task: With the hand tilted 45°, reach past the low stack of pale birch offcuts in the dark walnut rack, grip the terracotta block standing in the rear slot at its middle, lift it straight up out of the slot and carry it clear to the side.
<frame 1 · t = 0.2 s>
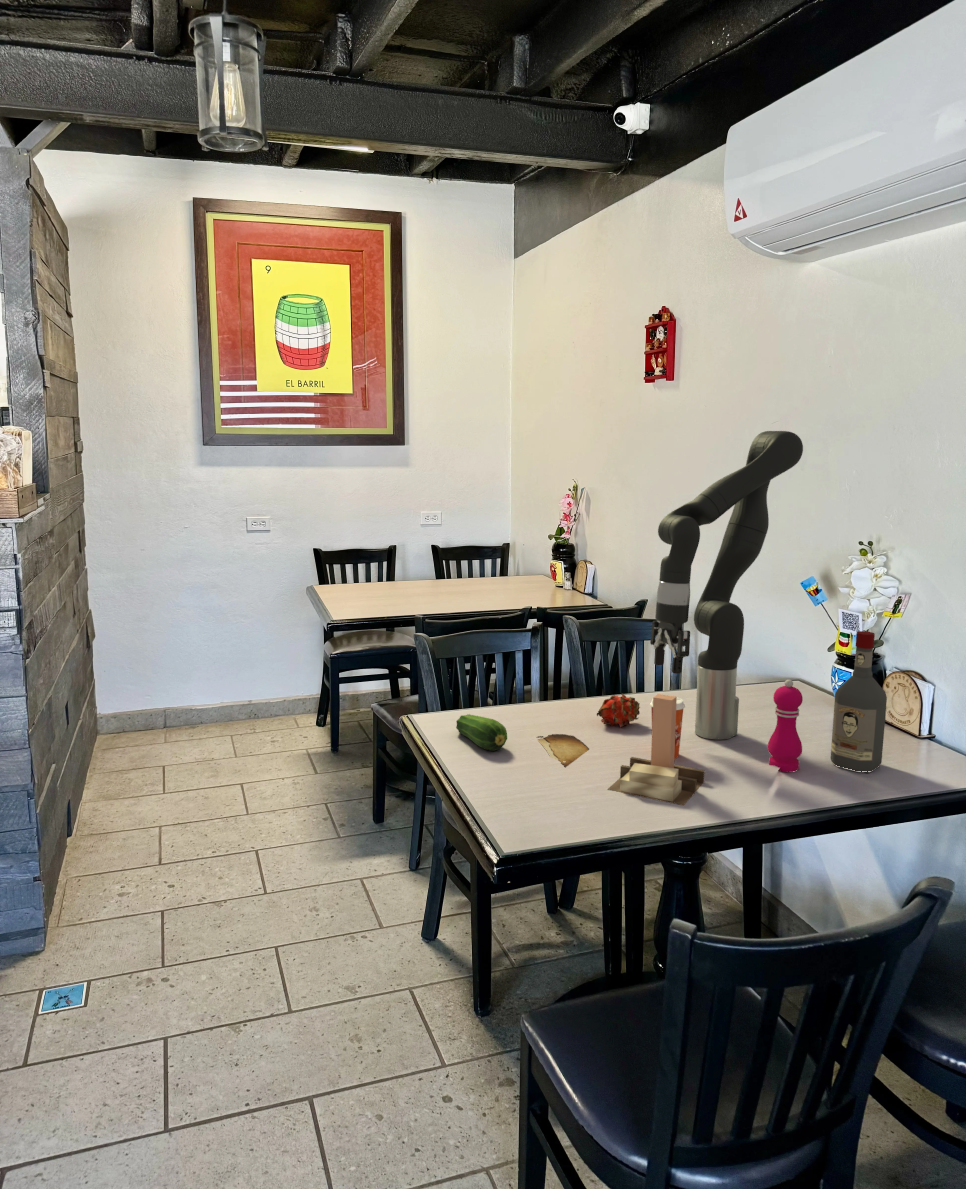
hand: (667, 668, 209), 18 cm above the table, tool pointing down, fingers open, 8 cm apart
walnut rack: (656, 789, 183), on the table
vegetable: (478, 742, 212), on the table
pepper mill: (783, 768, 196), on the table
terracotta block: (661, 779, 186), point 1 cm above the table, touching walnut rack
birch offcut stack: (650, 791, 180), point 1 cm above the table, touching walnut rack
dragon fruit: (617, 725, 224), on the table
parchment: (568, 754, 205), on the table
paper cup: (665, 759, 201), on the table
liquor: (855, 765, 197), on the table
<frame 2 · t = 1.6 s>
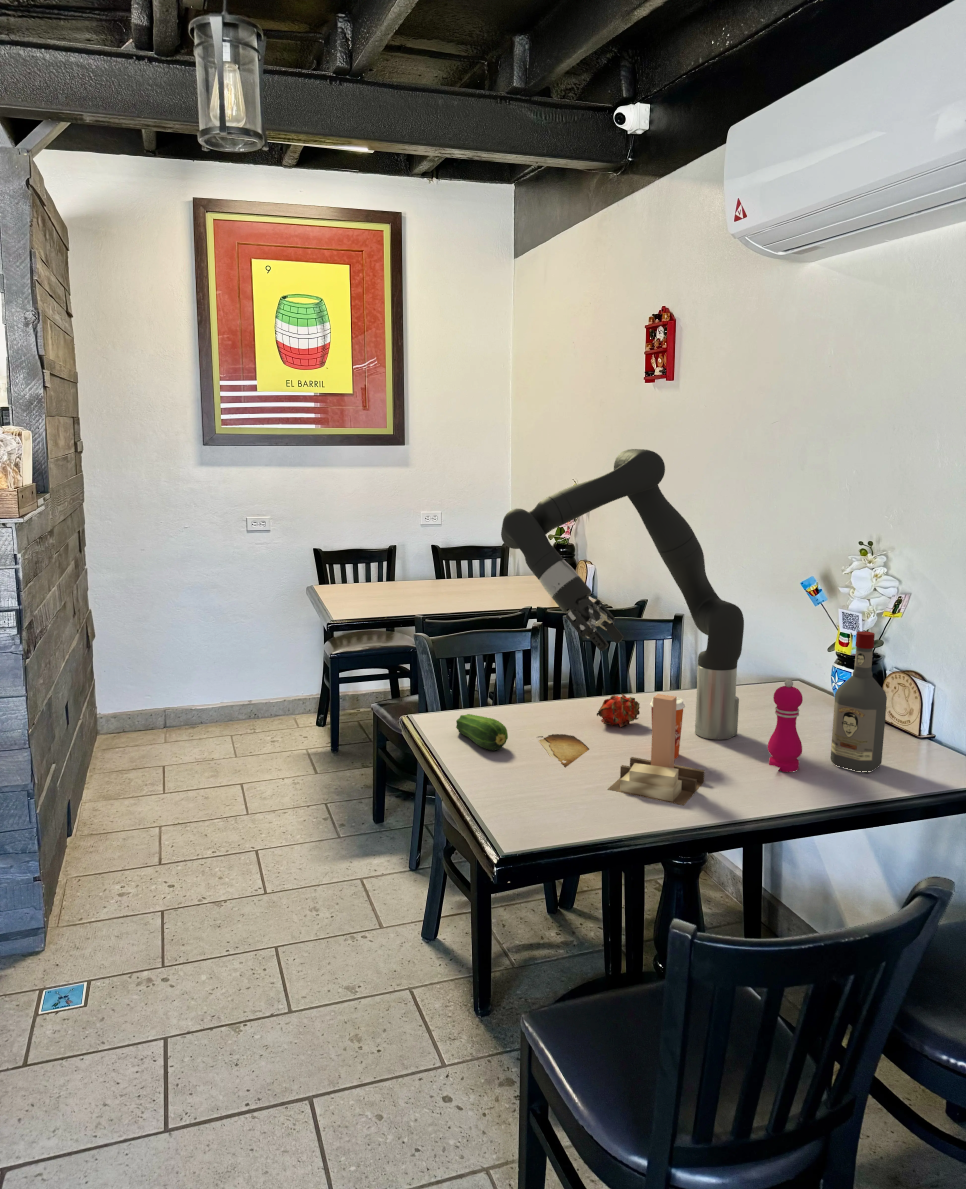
hand: (613, 644, 187), 29 cm above the table, tool tilted 45°, fingers open, 8 cm apart
nothing on the table moved.
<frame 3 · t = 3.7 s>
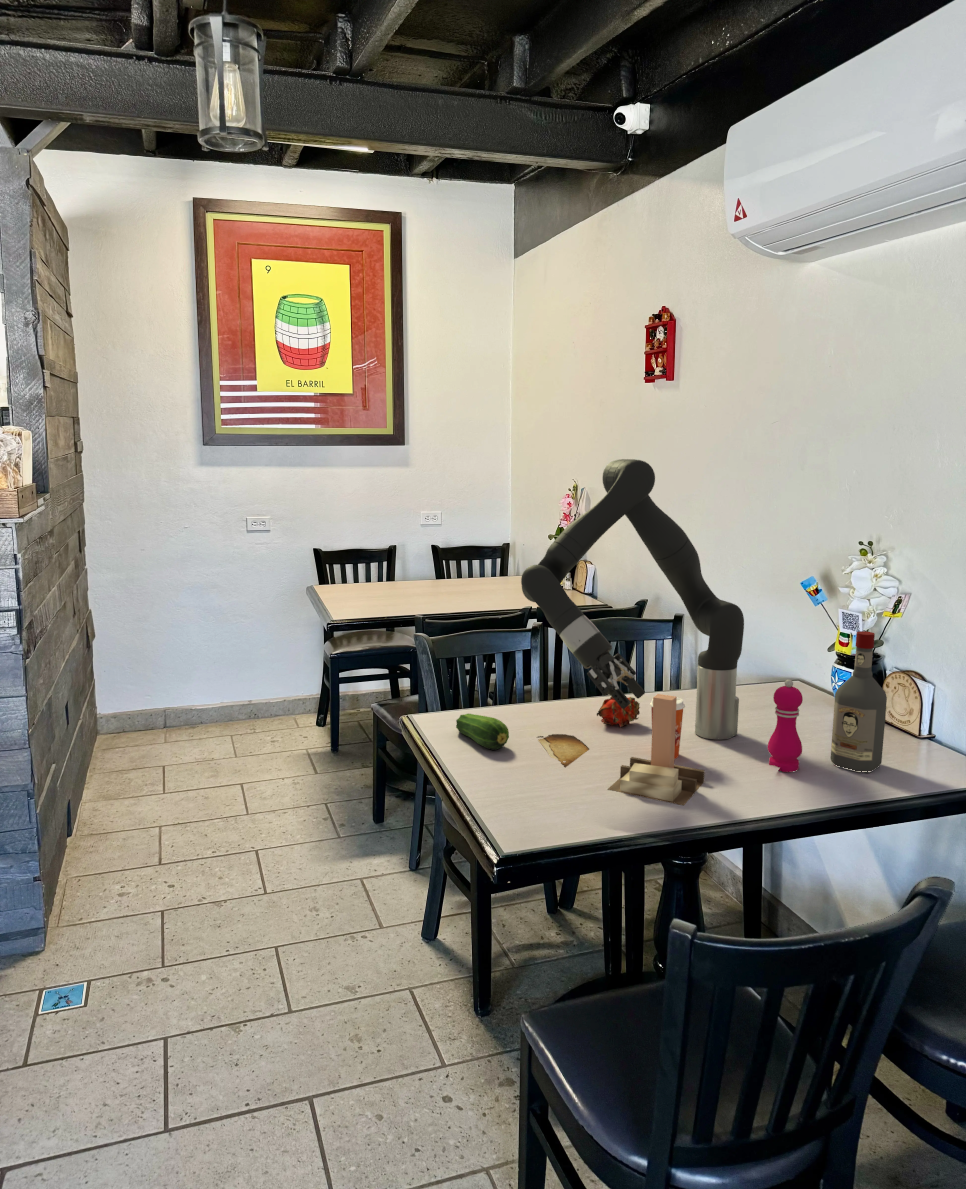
hand: (634, 701, 186), 17 cm above the table, tool tilted 45°, fingers open, 8 cm apart
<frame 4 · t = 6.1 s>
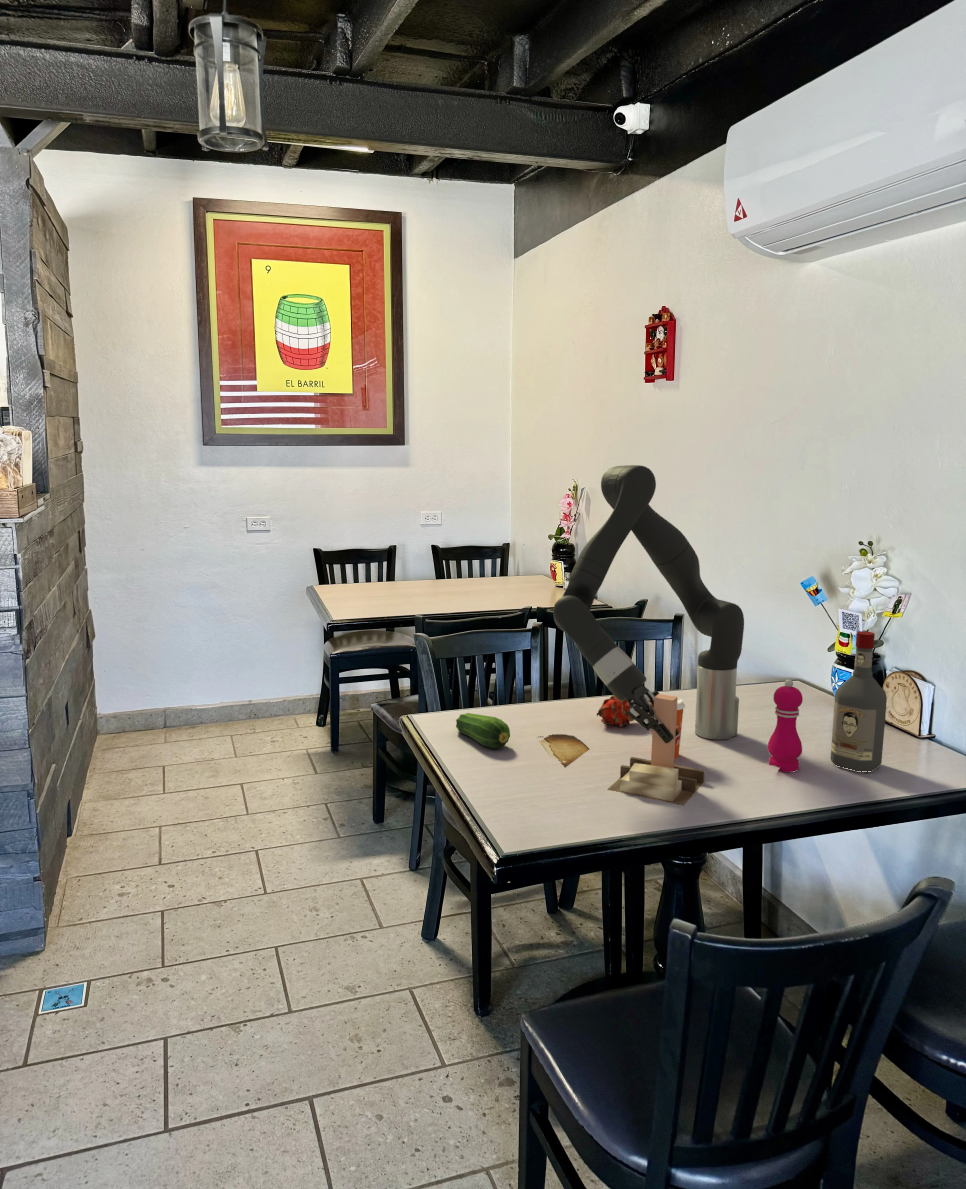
hand: (673, 738, 183), 11 cm above the table, tool tilted 45°, fingers closed on terracotta block, 3 cm apart
terracotta block: (661, 779, 186), point 1 cm above the table, touching gripper, walnut rack
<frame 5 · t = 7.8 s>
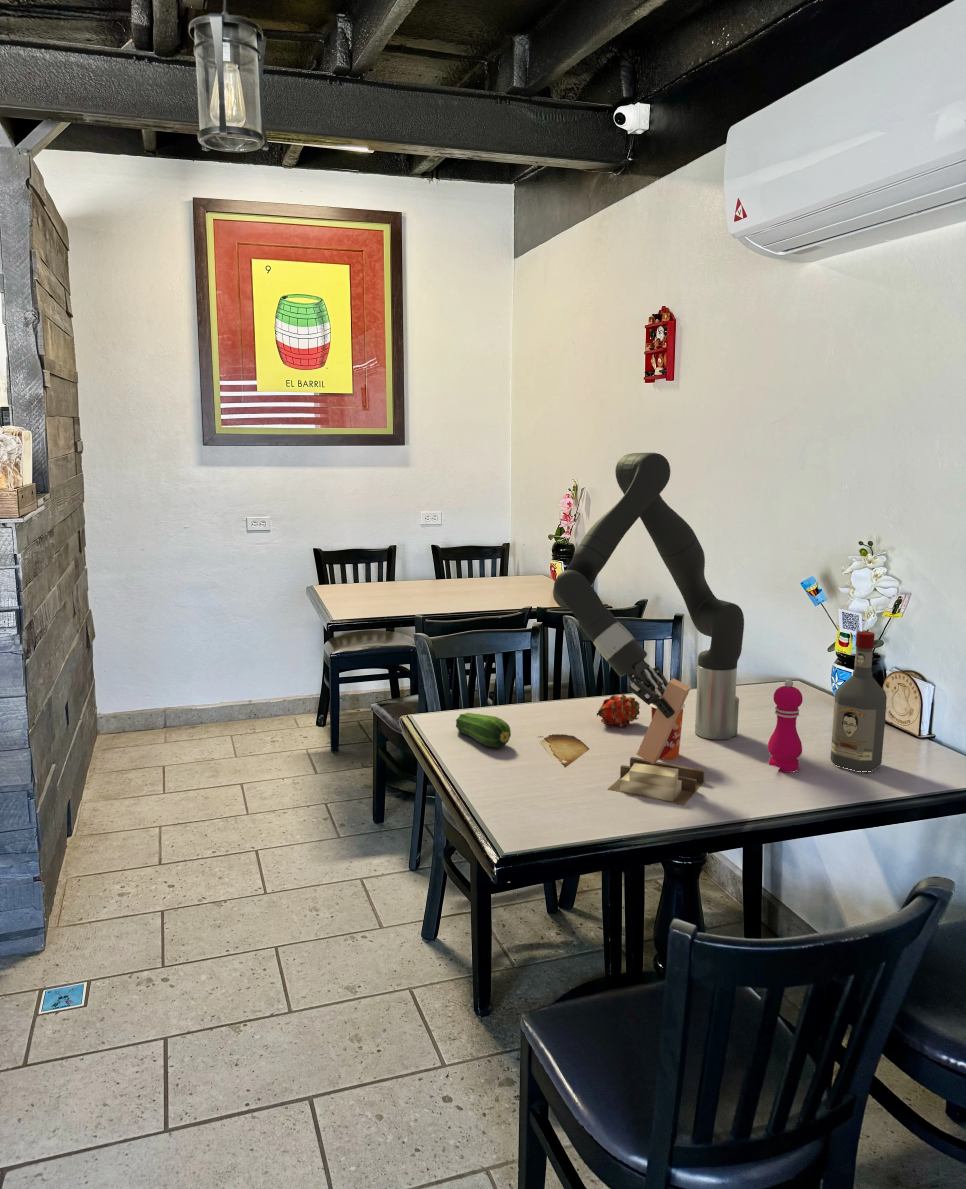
hand: (674, 713, 182), 16 cm above the table, tool tilted 45°, fingers closed on terracotta block, 2 cm apart
terracotta block: (647, 757, 187), point 5 cm above the table, tilted 21°, touching gripper
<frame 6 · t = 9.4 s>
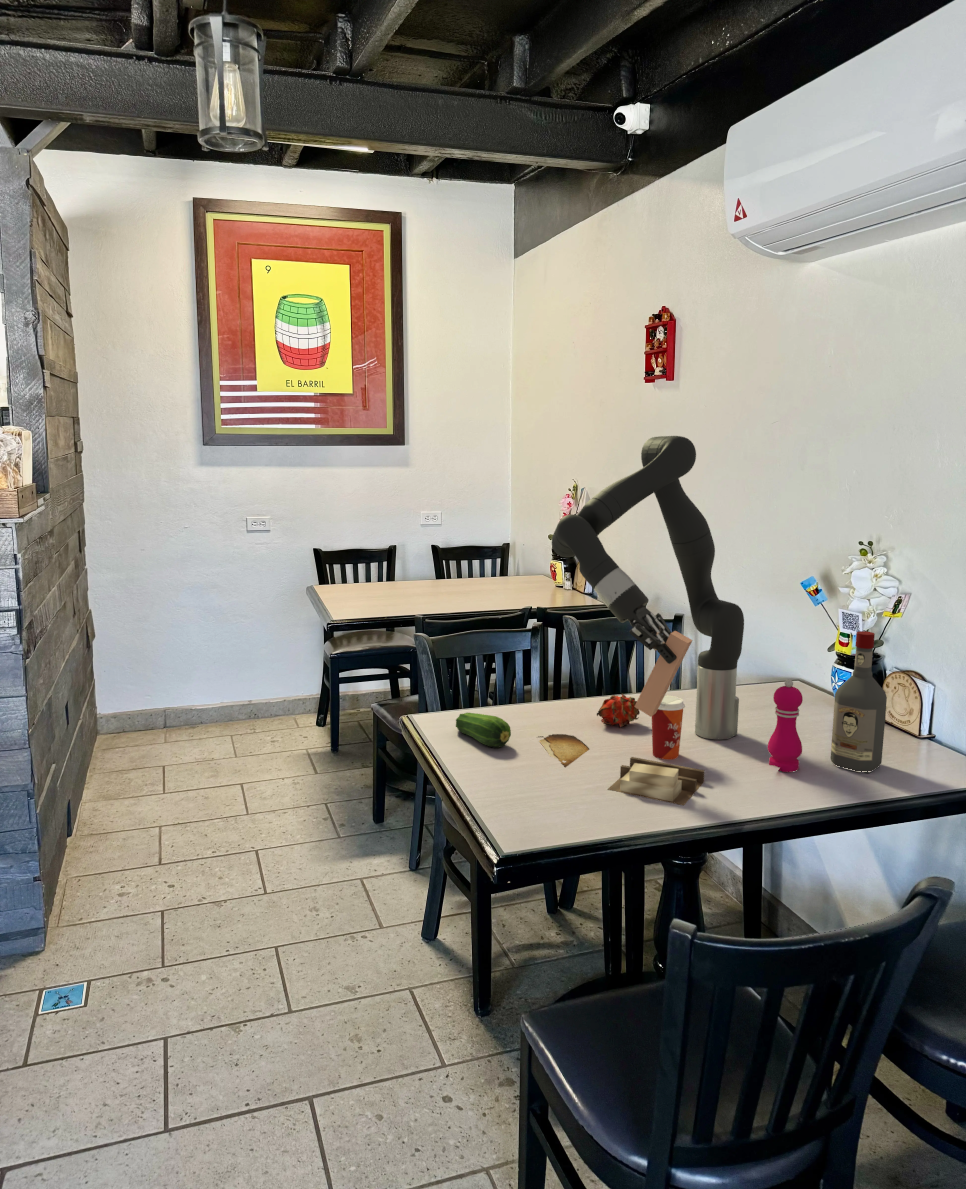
hand: (675, 658, 180), 27 cm above the table, tool tilted 45°, fingers closed on terracotta block, 3 cm apart
terracotta block: (645, 709, 185), point 16 cm above the table, tilted 24°, touching gripper
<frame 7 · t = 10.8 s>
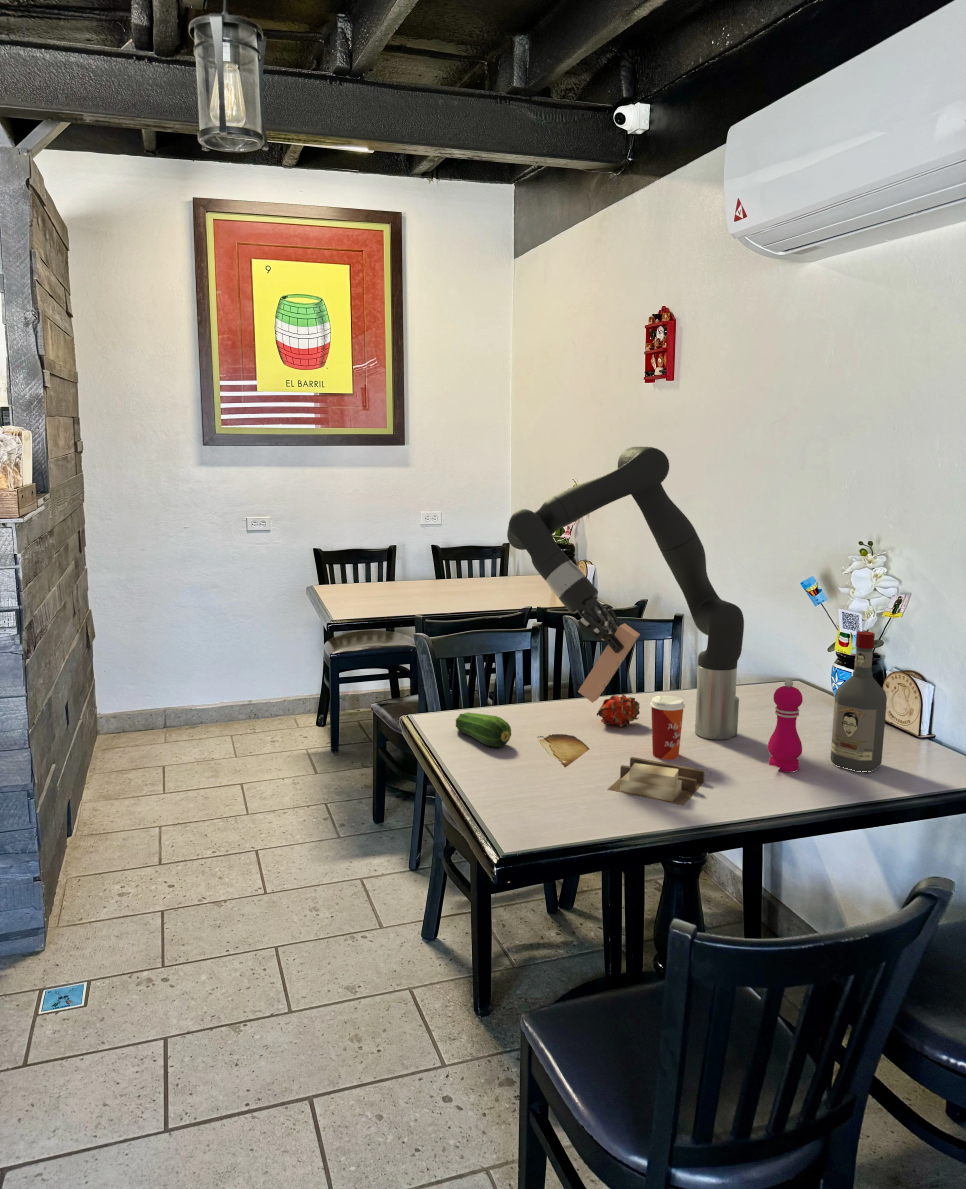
hand: (623, 648, 186), 28 cm above the table, tool tilted 45°, fingers closed on terracotta block, 3 cm apart
terracotta block: (587, 695, 192), point 17 cm above the table, tilted 31°, touching gripper
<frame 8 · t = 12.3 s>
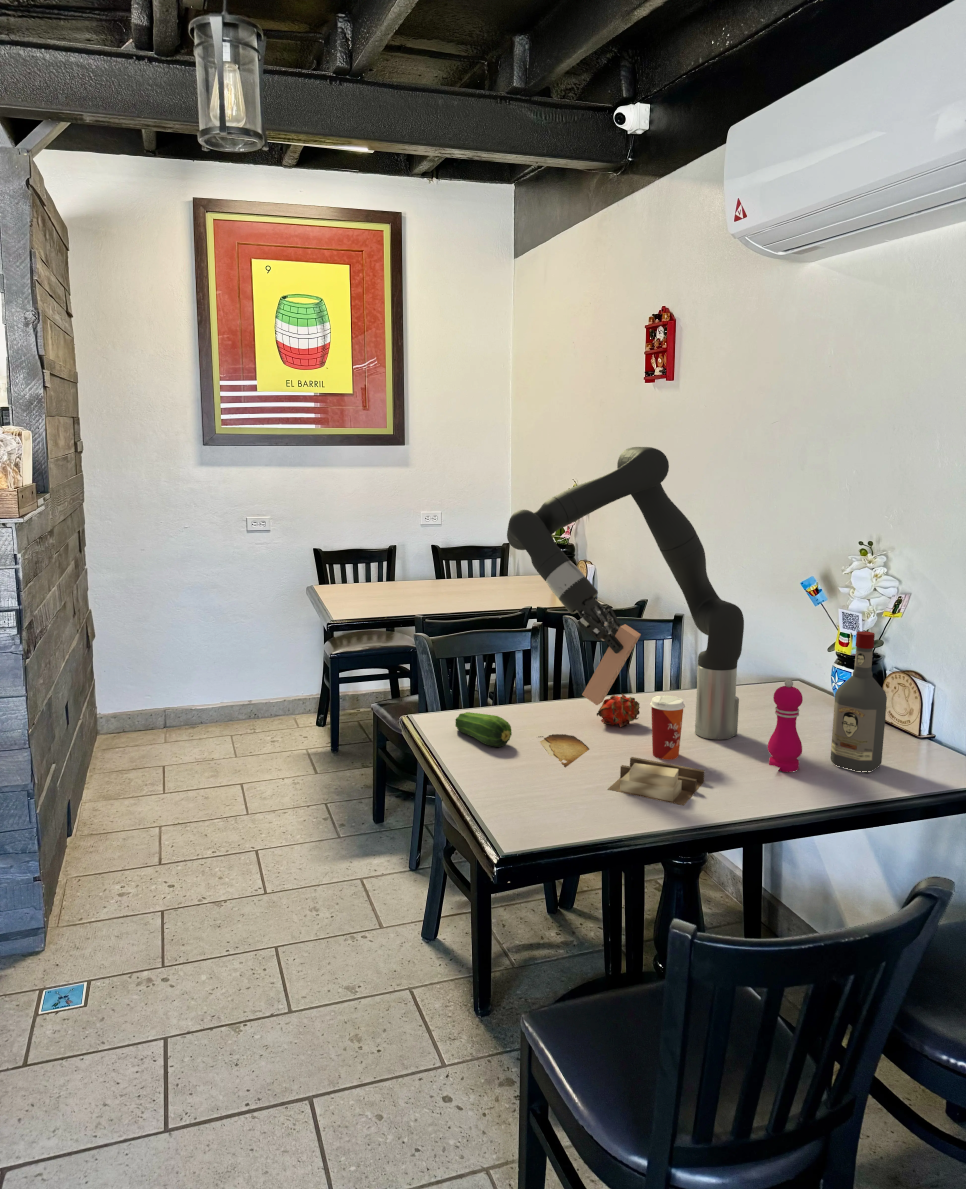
hand: (623, 648, 186), 28 cm above the table, tool tilted 45°, fingers closed on terracotta block, 3 cm apart
terracotta block: (592, 698, 192), point 16 cm above the table, tilted 28°, touching gripper
at the end: the gripper is holding terracotta block; terracotta block point 16.1 cm above the table; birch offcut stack moved 0.0 cm from its start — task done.
